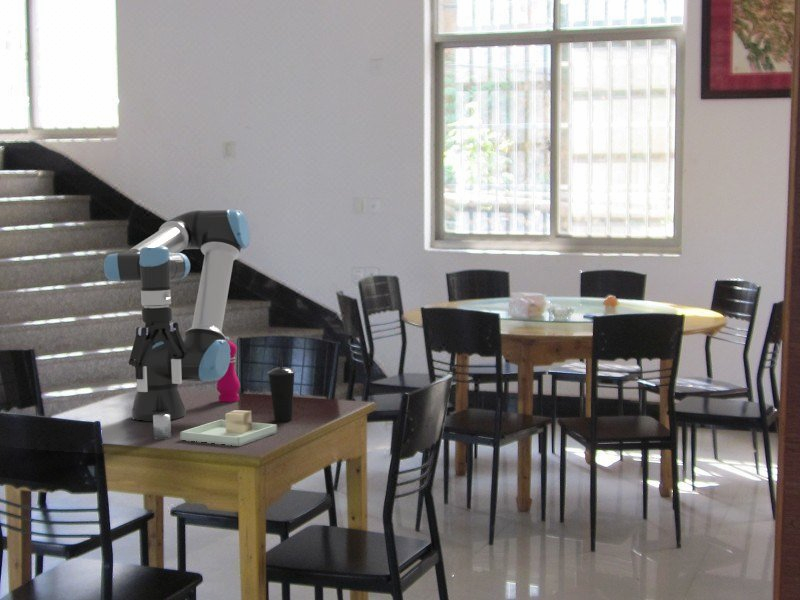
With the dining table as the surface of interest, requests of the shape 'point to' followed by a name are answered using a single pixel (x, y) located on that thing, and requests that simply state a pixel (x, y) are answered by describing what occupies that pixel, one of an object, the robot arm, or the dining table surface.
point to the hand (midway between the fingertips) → (160, 387)
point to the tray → (218, 435)
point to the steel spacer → (162, 426)
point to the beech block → (238, 421)
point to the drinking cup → (282, 391)
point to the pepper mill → (229, 379)
